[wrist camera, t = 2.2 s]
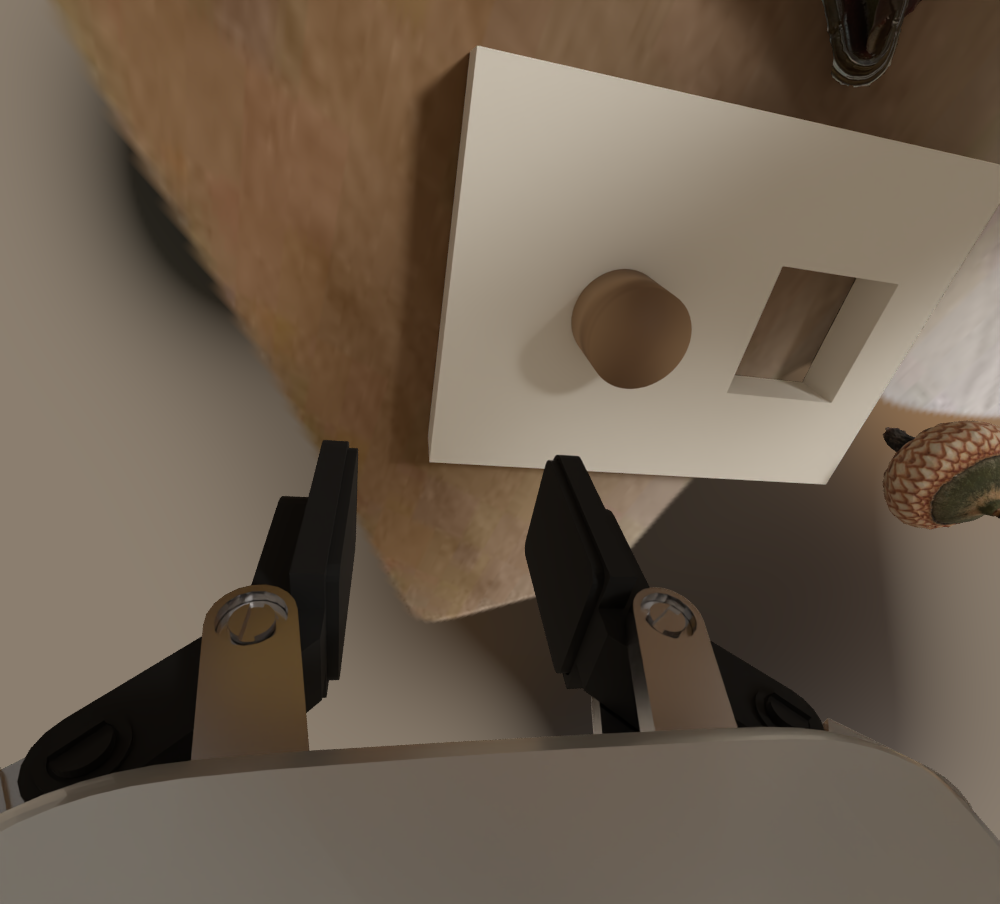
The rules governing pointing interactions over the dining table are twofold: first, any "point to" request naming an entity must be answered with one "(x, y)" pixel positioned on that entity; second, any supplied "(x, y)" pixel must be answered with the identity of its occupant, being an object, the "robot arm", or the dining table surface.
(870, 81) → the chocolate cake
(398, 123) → the dining table surface
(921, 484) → the acorn
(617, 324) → the brown wooden cylinder
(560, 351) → the plate
